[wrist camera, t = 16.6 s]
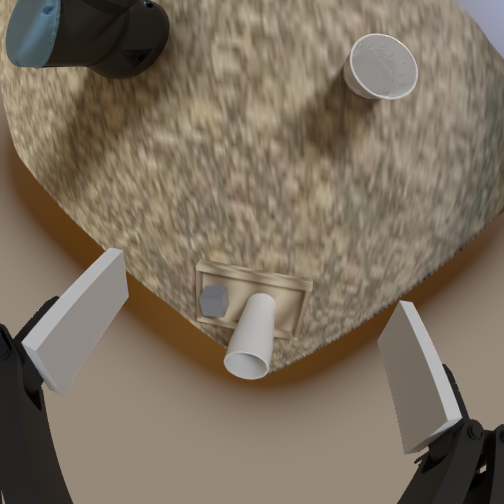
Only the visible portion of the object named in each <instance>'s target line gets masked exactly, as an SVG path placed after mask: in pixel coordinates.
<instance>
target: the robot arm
mask: <svg viewBox="0 0 504 504" xmlns="http://www.w3.org/2000/svg"><path fill="white" fill-rule="evenodd" d="M168 34H169V19H168V16H167V14H166V12H165V10H164V9H163V8H162V7H161V6H160V5H158V4H156V3H155V2H153V1H151V0H18V2H17V3H16V5H15V7H14V10H13V12H12V15H11V17H10V20H9V24H8V29H7V34H6V51H7V55H8V58H9V60H10V61H11V63H12V64H14V65H15V66H18V67H33V68H36V69H37V68H45V67H88V68H90V69H91V70H93V71H94V72H96V73H98V74H99V75H101V76H103V77H107V78H114V79H125V78H129V77H132V76H135V75H137V74H139V73H141V72H142V71H144V70H145V69H147V68H148V67H149V66H150V65H151V64H152V63H153V62H154V61H155V60H156V59H157V57H158V56H159V55H160V53H161V51H162V50H163V48H164V46H165V44H166V41H167V38H168ZM126 281H127V280H126V272H125V262H124V252H123V250H120V249H115V248H111V247H110V248H109V249H108V250H107V251H106V252H105V253H104V254H103V255H102V256H100V257H99V258H98V259H97V260H96V261H95V262H94V263H93V264H92V265H91V266H90V267H89V268H88V269H87V270H86V271H85V272H84V273H83V274H82V275H81V276H80V277H79V278H78V279H77V280H76V281H75V282H74V283H73V284H72V285H71V287H70V288H69V289H68V290H67V291H66V292H65V293H64V294H63V295H62V296H61V297H58V296H55V297H53V298H52V299H50V300H48V301H46V302H45V304H44V305H43V306H42V307H41V308H40V309H39V311H37V312H36V314H35V315H34V316H33V318H31V319H30V320H29V321H28V323H27V324H26V325H25V326H24V327H23V328H22V329H21V331H20V332H19V333H18V334H17V335H16V337H15V338H14V339H12V337H11V335H10V333H9V331H8V329H7V328H6V327H5V325H2V324H0V504H2V495H1V490H2V494H3V497H4V501H5V504H73V502H72V500H71V497H70V495H69V492H68V489H67V487H66V484H65V481H64V478H63V476H62V473H61V469H60V466H59V463H58V459H57V456H56V452H55V449H54V445H53V441H52V437H51V432H50V428H49V423H48V419H47V413H46V407H45V401H44V395H43V390H42V387H41V385H42V383H43V381H44V382H45V383H46V385H47V386H48V388H49V389H50V390H52V391H53V392H55V393H57V394H59V395H61V396H62V397H64V396H65V394H66V392H67V390H68V389H69V387H70V385H71V383H72V382H73V380H74V379H75V377H76V375H77V374H78V372H79V370H80V369H81V367H82V365H83V364H84V362H85V361H86V359H87V357H88V356H89V354H90V353H91V351H92V350H93V348H94V347H95V345H96V344H97V342H98V340H99V339H100V337H101V336H102V335H103V333H104V331H105V330H106V329H107V327H108V325H109V324H110V323H111V321H112V320H113V318H114V317H115V315H116V314H117V312H118V311H119V310H120V308H121V307H122V305H123V304H124V303H125V301H126V299H127V298H128V297H129V295H128V288H127V282H126ZM377 342H378V345H379V349H380V352H381V356H382V359H383V363H384V366H385V370H386V374H387V377H388V381H389V385H390V389H391V393H392V397H393V401H394V405H395V410H396V414H397V419H398V423H399V428H400V433H401V438H402V443H403V449H404V454H410V453H415V452H420V451H421V450H422V449H424V448H425V447H427V446H428V447H429V451H428V452H427V453H425V454H424V455H422V456H421V457H419V458H418V459H416V460H415V462H414V463H415V464H416V463H417V462H419V461H421V460H422V461H421V463H420V464H419V465H418V466H419V467H418V469H417V471H416V473H415V474H414V476H413V478H412V480H411V482H410V483H409V485H408V487H407V489H406V490H405V492H404V494H403V495H402V497H401V499H400V500H399V501H398V503H397V504H504V424H501V425H500V426H498V427H497V428H496V429H495V430H494V431H490V430H484V429H483V427H482V425H481V424H480V423H479V422H478V421H476V420H473V419H470V418H469V416H468V413H467V410H466V407H465V405H464V402H463V399H462V397H461V394H460V392H459V391H458V390H459V389H458V386H457V384H455V382H456V381H455V379H454V377H453V374H452V372H451V371H450V370H449V368H448V367H447V366H446V365H445V364H441V362H440V359H439V357H438V354H437V352H436V350H435V348H434V346H433V343H432V341H431V339H430V337H429V335H428V333H427V331H426V329H425V327H424V325H423V323H422V321H421V319H420V317H419V315H418V313H417V311H416V309H415V307H414V305H413V303H412V302H406V301H399V303H398V305H397V307H396V309H395V311H394V312H393V314H392V316H391V318H390V320H389V322H388V323H387V325H386V327H385V329H384V330H383V333H382V334H381V336H380V338H379V339H378V341H377ZM486 464H487V465H486ZM485 465H486V471H484V472H482V473H480V468H482V467H483V466H485Z"/></svg>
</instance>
